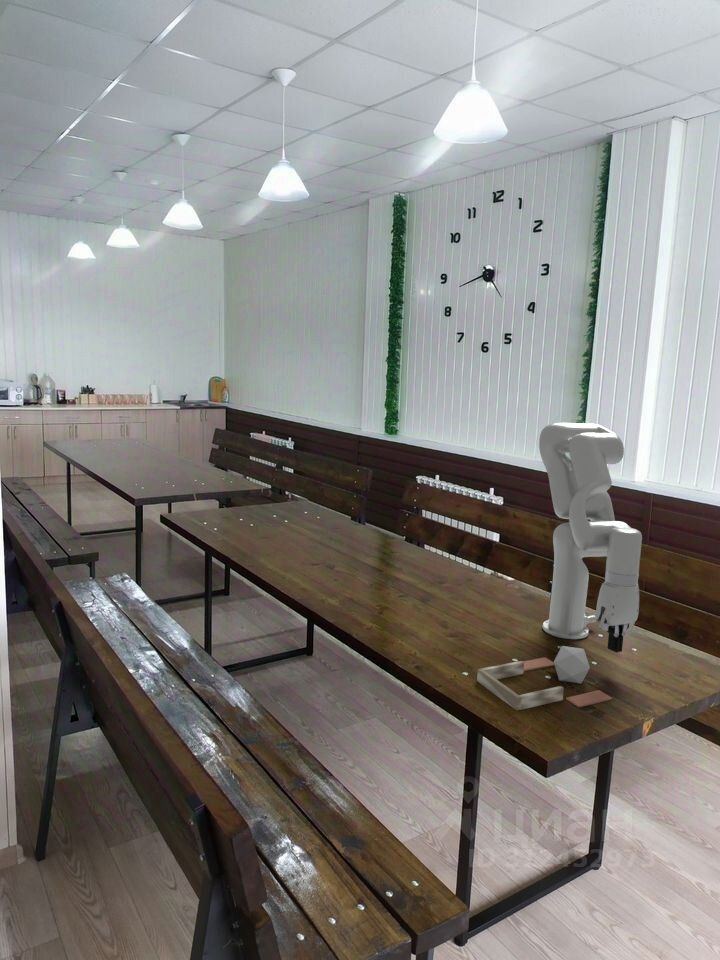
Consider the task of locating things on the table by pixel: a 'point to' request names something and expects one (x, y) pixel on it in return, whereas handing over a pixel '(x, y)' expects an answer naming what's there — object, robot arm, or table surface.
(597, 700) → the mat
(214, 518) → the table surface
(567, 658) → the die
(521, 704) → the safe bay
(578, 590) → the robot arm
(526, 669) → the mat
